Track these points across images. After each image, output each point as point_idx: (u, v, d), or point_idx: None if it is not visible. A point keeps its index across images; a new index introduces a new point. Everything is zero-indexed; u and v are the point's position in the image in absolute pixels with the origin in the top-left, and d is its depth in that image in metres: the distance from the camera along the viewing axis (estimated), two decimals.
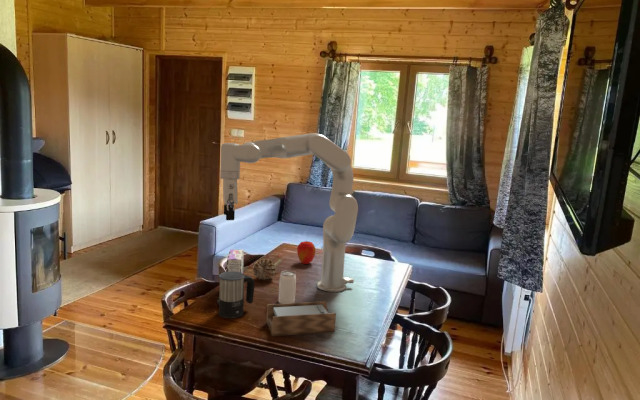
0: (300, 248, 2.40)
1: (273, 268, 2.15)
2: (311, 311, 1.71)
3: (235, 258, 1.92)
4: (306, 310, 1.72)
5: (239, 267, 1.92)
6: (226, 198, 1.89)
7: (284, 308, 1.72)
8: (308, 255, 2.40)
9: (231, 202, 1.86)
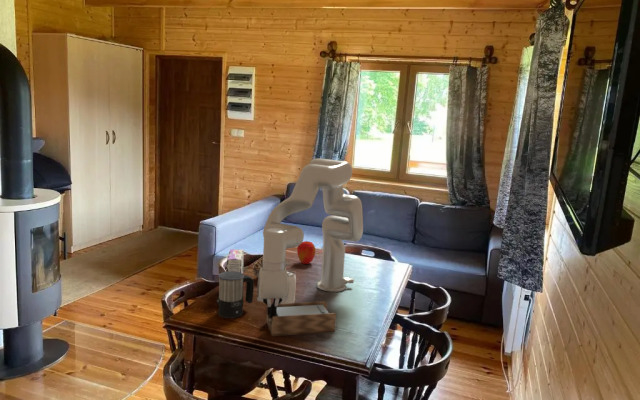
0: (300, 248, 2.40)
1: None
2: (312, 311, 1.71)
3: (235, 258, 1.92)
4: (306, 310, 1.72)
5: (239, 267, 1.92)
6: (287, 290, 1.66)
7: (285, 308, 1.72)
8: (308, 255, 2.40)
9: None
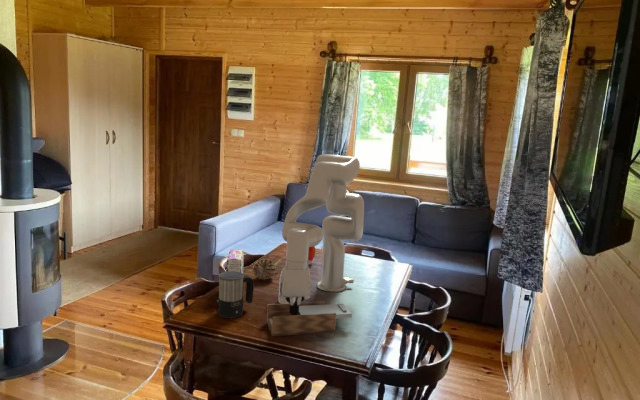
0: None
1: (273, 268, 2.15)
2: (333, 310, 1.73)
3: (235, 258, 1.92)
4: (328, 308, 1.74)
5: (239, 267, 1.92)
6: (310, 289, 1.68)
7: (306, 307, 1.74)
8: (308, 255, 2.40)
9: None
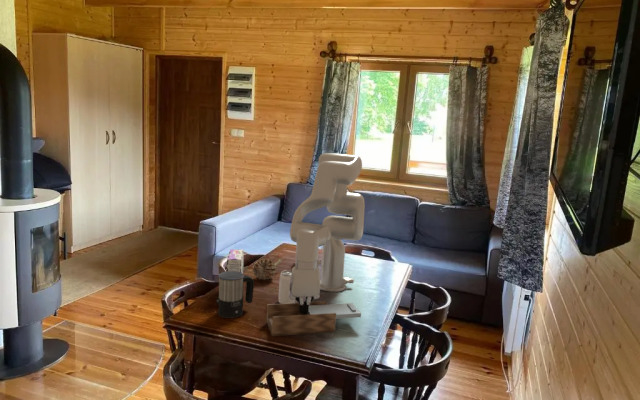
0: None
1: (273, 268, 2.15)
2: (342, 309, 1.74)
3: (235, 258, 1.92)
4: (337, 308, 1.75)
5: (239, 267, 1.92)
6: (319, 288, 1.70)
7: (316, 306, 1.75)
8: None
9: None
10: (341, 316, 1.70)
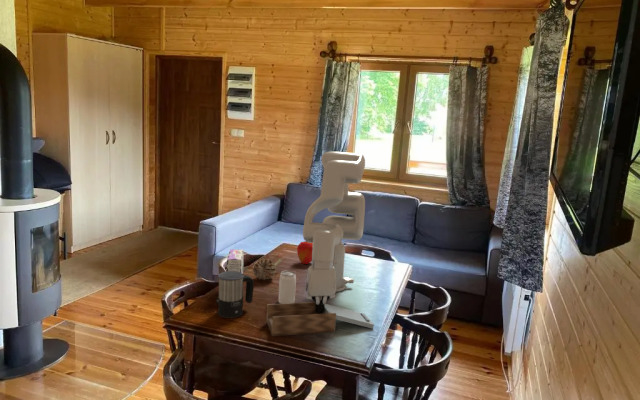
0: (300, 248, 2.40)
1: (273, 268, 2.15)
2: (356, 316, 1.76)
3: (235, 258, 1.92)
4: (352, 314, 1.77)
5: (239, 267, 1.92)
6: (335, 288, 1.71)
7: (332, 306, 1.77)
8: (308, 255, 2.40)
9: None
10: (355, 322, 1.72)
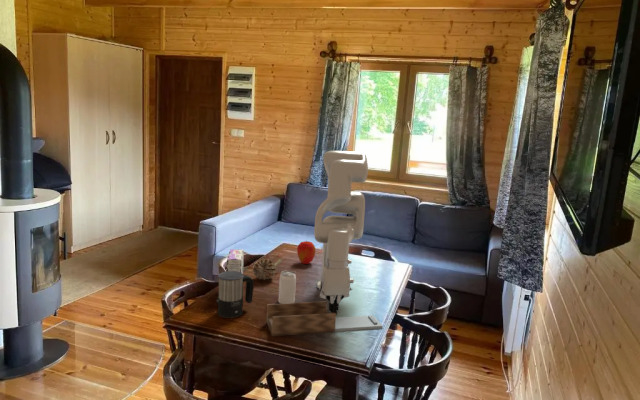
0: (300, 248, 2.40)
1: (273, 268, 2.15)
2: (364, 322, 1.77)
3: (235, 258, 1.92)
4: (359, 320, 1.78)
5: (239, 267, 1.92)
6: (349, 287, 1.73)
7: (338, 319, 1.78)
8: (308, 255, 2.40)
9: None
10: (363, 329, 1.73)
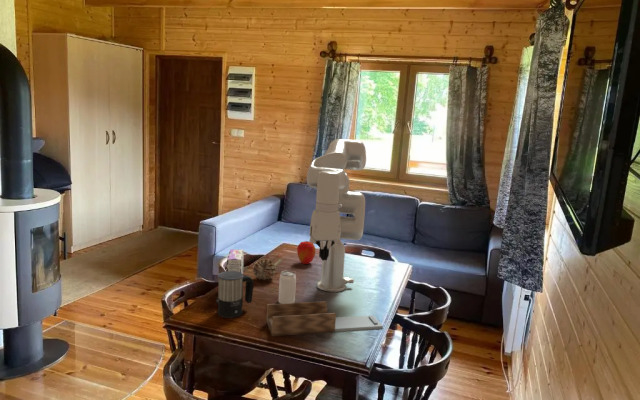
0: (300, 248, 2.40)
1: (273, 268, 2.15)
2: (364, 322, 1.77)
3: (235, 258, 1.92)
4: (359, 320, 1.78)
5: (239, 267, 1.92)
6: (340, 232, 1.68)
7: (338, 319, 1.78)
8: (308, 255, 2.40)
9: None
10: (363, 329, 1.73)
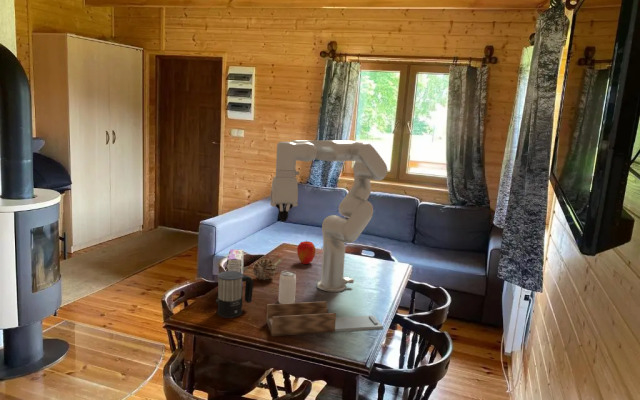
0: (300, 248, 2.40)
1: (273, 268, 2.15)
2: (364, 322, 1.77)
3: (235, 258, 1.92)
4: (359, 321, 1.78)
5: (239, 267, 1.92)
6: (297, 196, 1.89)
7: (338, 319, 1.78)
8: (308, 255, 2.40)
9: None
10: (363, 329, 1.73)
